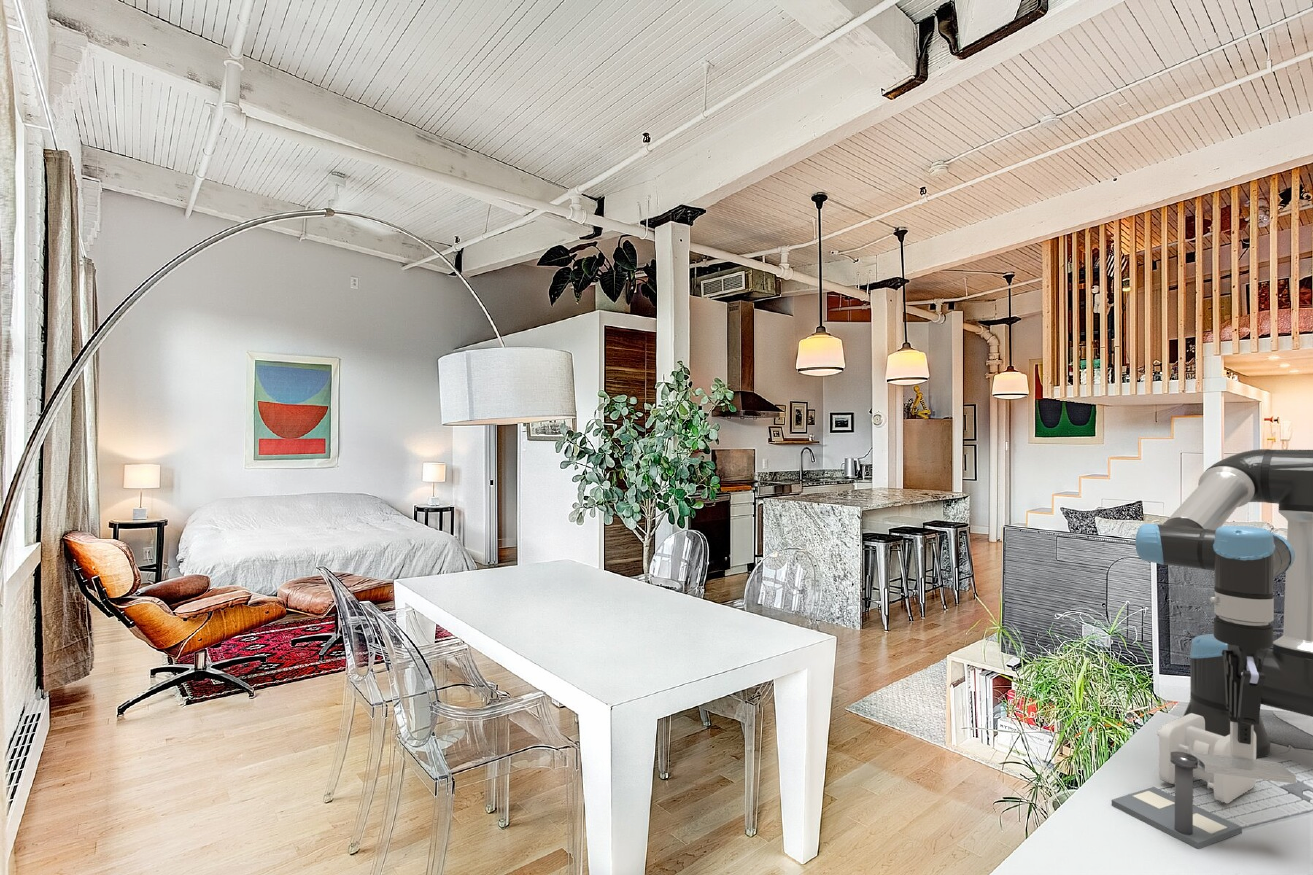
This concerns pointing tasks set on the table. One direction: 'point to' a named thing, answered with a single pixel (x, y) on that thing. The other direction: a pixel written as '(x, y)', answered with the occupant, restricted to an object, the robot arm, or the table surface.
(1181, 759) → the grey lever handle
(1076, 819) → the table surface
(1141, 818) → the label board
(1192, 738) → the cable organizer
